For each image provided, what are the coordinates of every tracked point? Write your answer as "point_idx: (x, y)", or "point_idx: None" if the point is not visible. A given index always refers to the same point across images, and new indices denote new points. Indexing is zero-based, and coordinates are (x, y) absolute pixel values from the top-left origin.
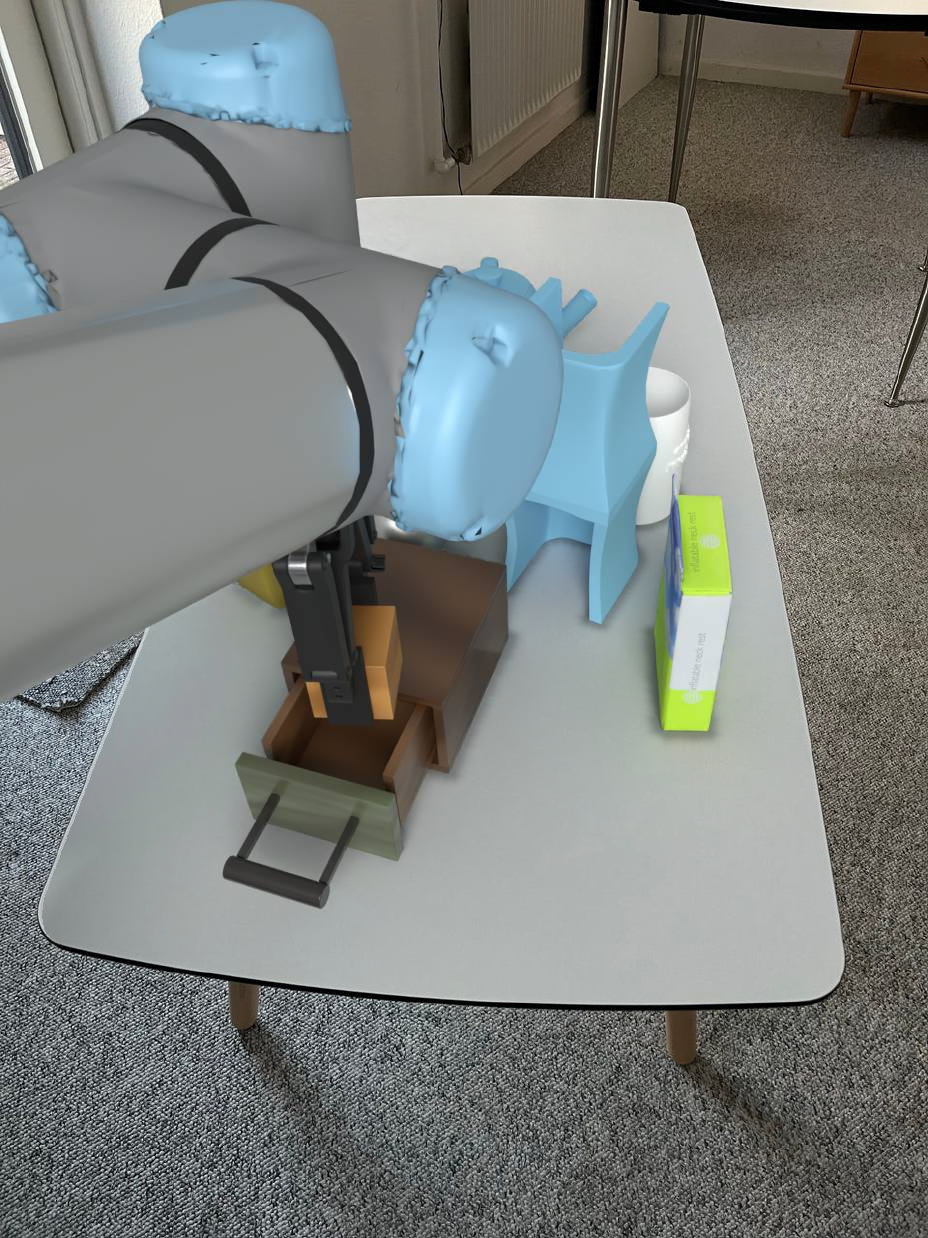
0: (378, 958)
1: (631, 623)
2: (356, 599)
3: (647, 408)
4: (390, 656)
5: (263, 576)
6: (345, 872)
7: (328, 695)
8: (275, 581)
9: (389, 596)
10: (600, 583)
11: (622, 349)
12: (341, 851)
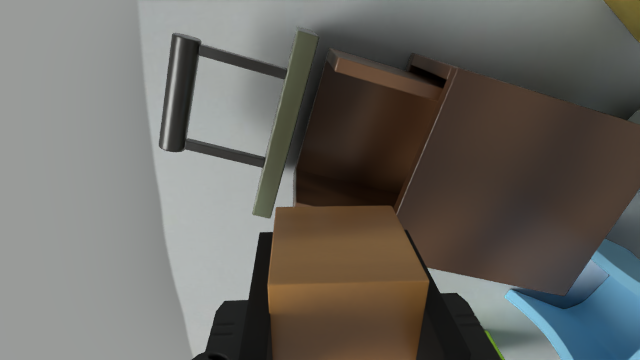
0: (178, 162)
1: (500, 315)
2: (423, 356)
3: None
4: None
5: None
6: (254, 124)
7: (213, 323)
8: (635, 4)
9: (547, 187)
10: (536, 324)
11: None
12: (221, 157)
